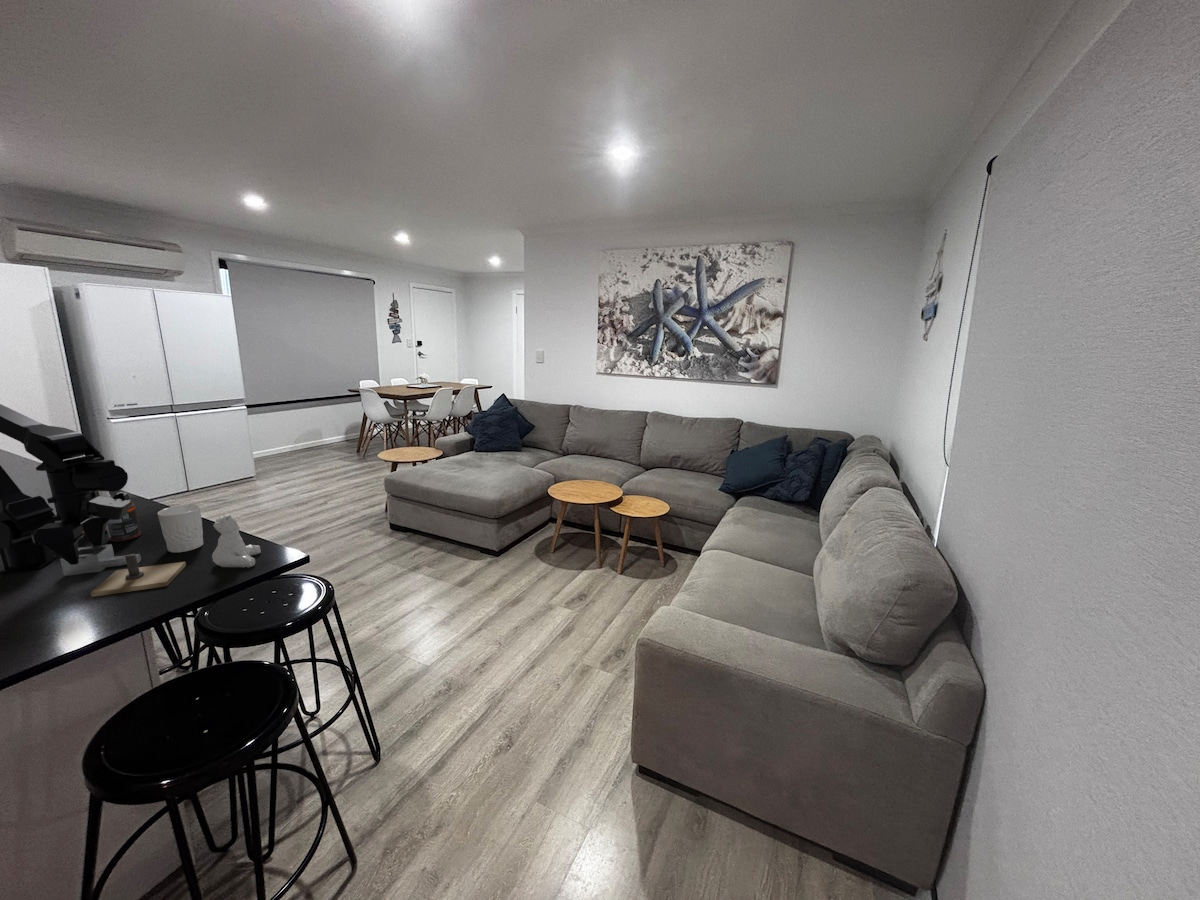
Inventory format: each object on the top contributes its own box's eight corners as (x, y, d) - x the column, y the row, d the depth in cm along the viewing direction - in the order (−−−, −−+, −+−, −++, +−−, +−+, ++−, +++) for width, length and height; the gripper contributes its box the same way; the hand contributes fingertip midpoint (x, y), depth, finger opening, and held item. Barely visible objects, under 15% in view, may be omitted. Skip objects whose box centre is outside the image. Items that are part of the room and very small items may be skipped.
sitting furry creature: (254, 567, 107) (246, 519, 105) (207, 574, 104) (198, 524, 101) (262, 551, 116) (255, 505, 113) (219, 557, 112) (210, 510, 109)
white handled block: (64, 576, 101) (59, 559, 101) (80, 564, 107) (76, 548, 106) (133, 567, 106) (129, 551, 105) (145, 556, 111) (142, 540, 110)
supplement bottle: (123, 533, 124) (114, 493, 121) (147, 533, 124) (139, 493, 122) (102, 542, 118) (92, 500, 115) (127, 542, 118) (118, 500, 116)
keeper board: (91, 596, 94) (84, 569, 92) (117, 574, 103) (111, 549, 101) (167, 586, 99) (162, 560, 97) (186, 565, 107) (181, 541, 106)
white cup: (182, 555, 112) (174, 516, 110) (156, 552, 114) (148, 513, 111) (214, 542, 120) (208, 505, 117) (189, 539, 121) (183, 503, 119)
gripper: (96, 499, 96) (112, 567, 99) (140, 475, 113) (152, 534, 116) (20, 505, 92) (40, 576, 95) (78, 479, 108) (92, 541, 112)
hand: (87, 555), depth 105 cm, fingers open, 9 cm apart
